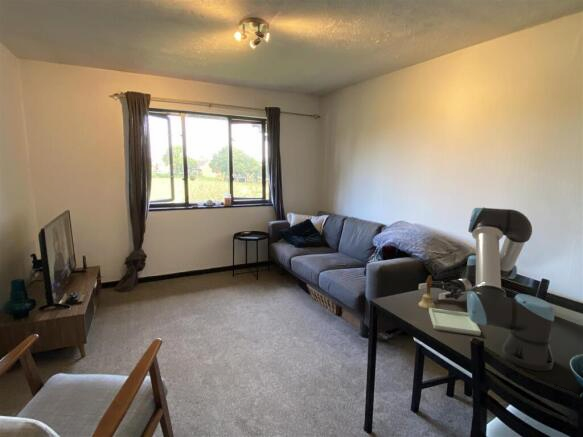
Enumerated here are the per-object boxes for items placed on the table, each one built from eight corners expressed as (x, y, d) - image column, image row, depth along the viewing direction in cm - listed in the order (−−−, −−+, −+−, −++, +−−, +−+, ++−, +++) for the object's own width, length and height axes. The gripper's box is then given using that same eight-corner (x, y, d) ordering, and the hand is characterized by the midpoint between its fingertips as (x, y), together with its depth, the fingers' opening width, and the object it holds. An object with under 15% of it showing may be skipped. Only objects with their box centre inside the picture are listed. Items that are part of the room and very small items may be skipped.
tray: (480, 335, 134) (480, 331, 134) (434, 329, 139) (434, 324, 138) (469, 316, 151) (470, 313, 151) (428, 311, 156) (429, 307, 156)
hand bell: (420, 301, 168) (423, 272, 166) (437, 305, 164) (440, 275, 161) (416, 306, 162) (419, 276, 159) (433, 310, 157) (436, 280, 154)
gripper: (480, 302, 159) (448, 308, 151) (440, 285, 182) (411, 289, 174) (481, 288, 158) (449, 293, 150) (441, 272, 181) (412, 276, 173)
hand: (428, 291), depth 162 cm, fingers open, 13 cm apart
